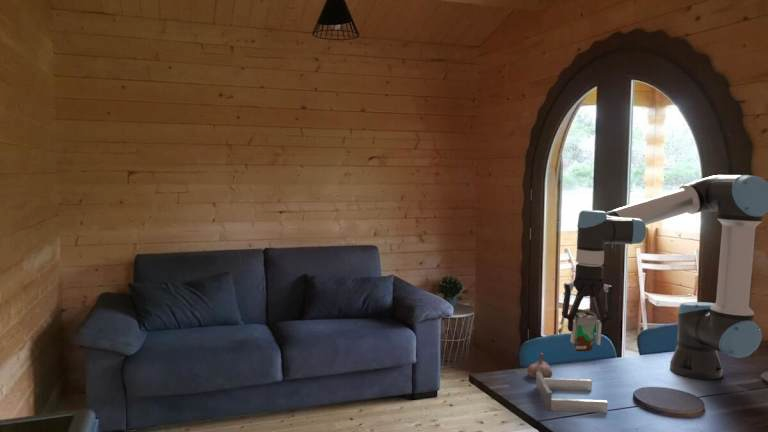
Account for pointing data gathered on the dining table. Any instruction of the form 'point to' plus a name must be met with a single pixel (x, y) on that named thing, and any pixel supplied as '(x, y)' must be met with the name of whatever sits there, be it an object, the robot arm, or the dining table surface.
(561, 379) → the rail dock
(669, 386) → the dining table surface
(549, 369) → the garlic bulb
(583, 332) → the food container
